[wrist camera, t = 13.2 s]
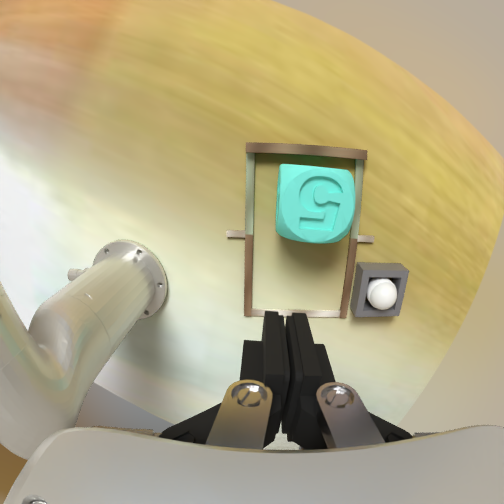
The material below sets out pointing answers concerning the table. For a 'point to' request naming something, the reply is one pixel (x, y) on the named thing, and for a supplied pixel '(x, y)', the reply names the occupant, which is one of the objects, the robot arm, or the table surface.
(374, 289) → the white ball
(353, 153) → the lane
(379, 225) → the table surface
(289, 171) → the decorative dice
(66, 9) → the table surface
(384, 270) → the collar
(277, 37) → the table surface
